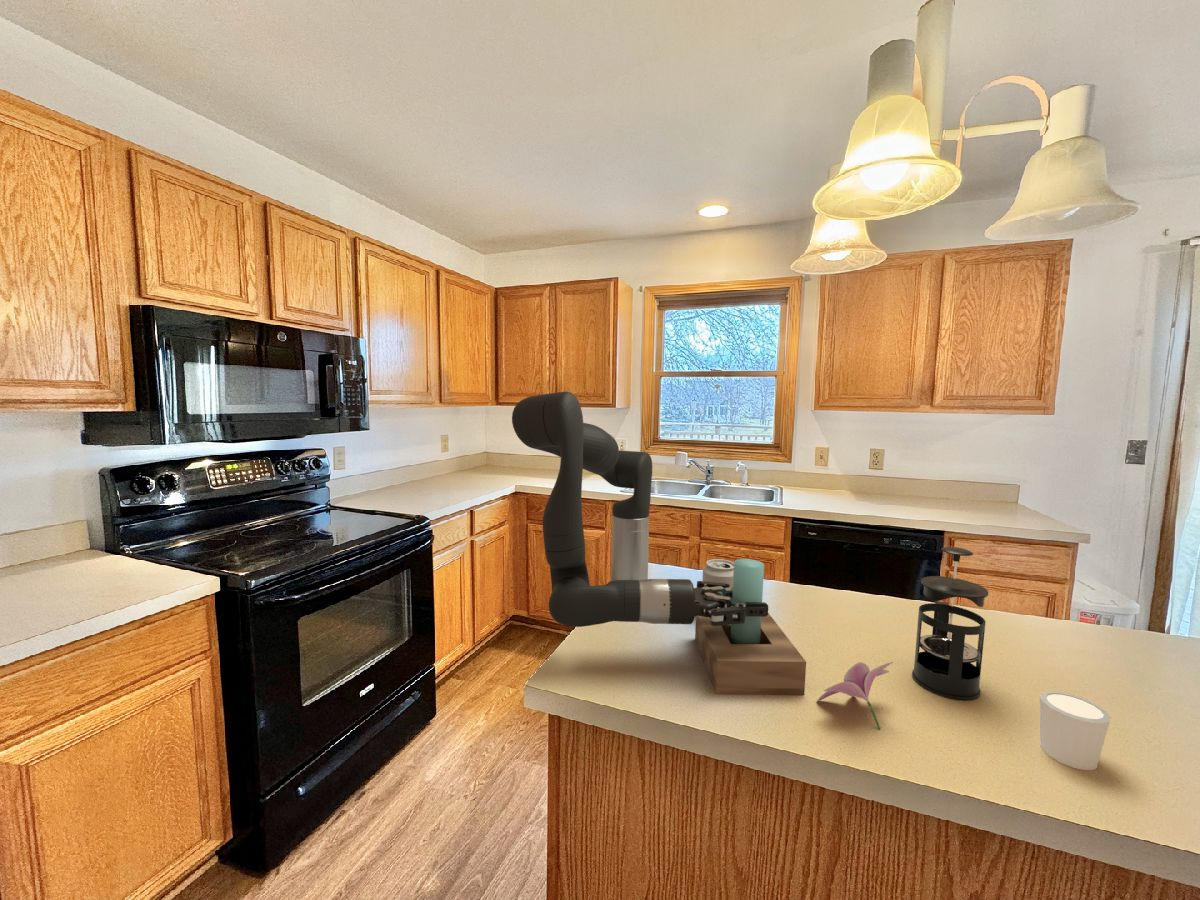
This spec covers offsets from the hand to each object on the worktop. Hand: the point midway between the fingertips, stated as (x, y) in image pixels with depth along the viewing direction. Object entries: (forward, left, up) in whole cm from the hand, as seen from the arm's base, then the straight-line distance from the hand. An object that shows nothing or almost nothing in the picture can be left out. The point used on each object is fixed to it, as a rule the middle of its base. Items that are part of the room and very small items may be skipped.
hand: (761, 602), depth 88 cm
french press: (+5, +29, -12) cm, 32 cm away
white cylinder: (+22, +34, -12) cm, 42 cm away
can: (-19, -3, -12) cm, 22 cm away
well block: (0, -3, -11) cm, 12 cm away
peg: (0, -3, -9) cm, 9 cm away
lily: (+13, +10, -12) cm, 21 cm away
